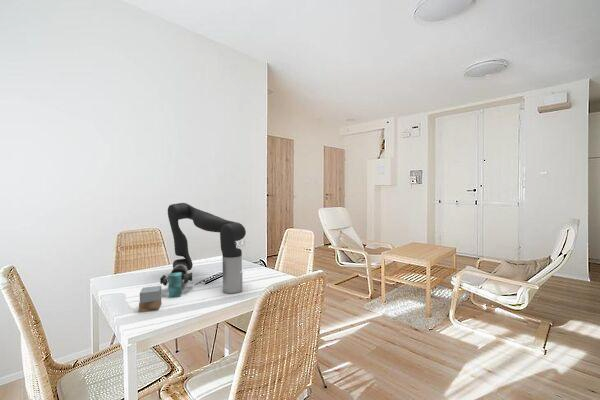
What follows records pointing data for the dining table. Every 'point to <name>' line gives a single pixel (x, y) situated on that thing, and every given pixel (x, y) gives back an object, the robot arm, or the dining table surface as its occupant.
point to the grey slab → (150, 294)
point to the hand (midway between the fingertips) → (175, 282)
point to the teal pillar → (175, 284)
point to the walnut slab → (149, 306)
